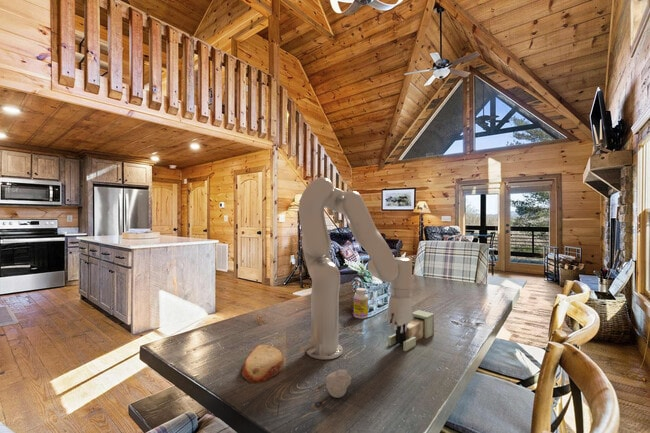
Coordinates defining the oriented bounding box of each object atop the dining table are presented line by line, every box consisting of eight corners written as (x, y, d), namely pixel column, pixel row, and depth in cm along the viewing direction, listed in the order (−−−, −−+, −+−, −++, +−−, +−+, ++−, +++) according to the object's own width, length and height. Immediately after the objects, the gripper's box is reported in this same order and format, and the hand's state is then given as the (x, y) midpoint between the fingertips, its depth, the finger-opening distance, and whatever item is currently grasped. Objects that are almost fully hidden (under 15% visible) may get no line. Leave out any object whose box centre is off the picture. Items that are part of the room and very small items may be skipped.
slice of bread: (267, 348, 111) (267, 337, 111) (301, 364, 98) (302, 353, 98) (220, 366, 97) (220, 354, 97) (254, 388, 85) (254, 374, 85)
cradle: (405, 351, 108) (405, 342, 108) (388, 345, 113) (388, 336, 113) (415, 345, 113) (415, 337, 113) (398, 339, 118) (398, 331, 118)
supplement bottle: (351, 317, 143) (351, 289, 142) (356, 313, 148) (357, 286, 148) (365, 320, 139) (365, 291, 139) (370, 315, 145) (370, 288, 145)
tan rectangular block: (408, 345, 113) (408, 328, 113) (400, 342, 115) (400, 326, 115) (426, 334, 123) (426, 319, 123) (418, 332, 125) (418, 317, 125)
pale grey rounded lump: (347, 406, 77) (347, 378, 77) (321, 399, 79) (321, 372, 79) (354, 393, 83) (354, 367, 82) (329, 387, 85) (330, 362, 85)
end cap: (426, 338, 119) (427, 317, 119) (410, 333, 124) (411, 313, 124) (433, 334, 124) (434, 313, 124) (418, 329, 128) (418, 309, 128)
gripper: (402, 286, 120) (402, 334, 120) (380, 293, 109) (380, 345, 110) (420, 290, 115) (420, 339, 115) (399, 298, 104) (398, 352, 104)
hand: (400, 342), depth 112 cm, fingers closed
